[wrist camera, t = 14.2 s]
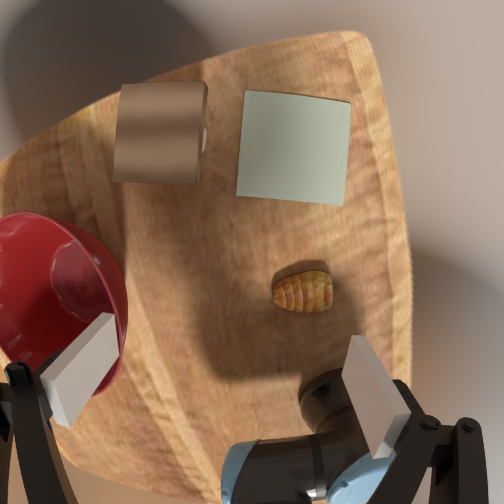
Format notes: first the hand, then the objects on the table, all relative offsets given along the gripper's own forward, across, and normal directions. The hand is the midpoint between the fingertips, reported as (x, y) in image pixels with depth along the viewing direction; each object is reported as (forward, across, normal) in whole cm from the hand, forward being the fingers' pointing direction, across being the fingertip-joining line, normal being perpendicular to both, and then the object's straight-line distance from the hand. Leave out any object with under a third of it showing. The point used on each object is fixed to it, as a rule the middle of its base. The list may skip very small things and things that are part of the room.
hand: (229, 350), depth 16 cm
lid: (+26, +12, -14) cm, 32 cm away
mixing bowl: (+32, +28, +10) cm, 44 cm away
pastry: (+32, -10, +8) cm, 35 cm away
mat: (+32, -6, -14) cm, 35 cm away
